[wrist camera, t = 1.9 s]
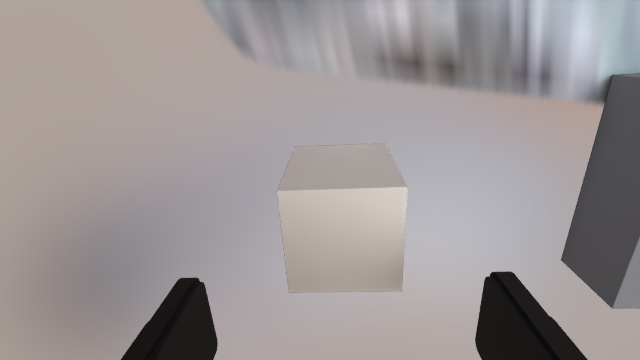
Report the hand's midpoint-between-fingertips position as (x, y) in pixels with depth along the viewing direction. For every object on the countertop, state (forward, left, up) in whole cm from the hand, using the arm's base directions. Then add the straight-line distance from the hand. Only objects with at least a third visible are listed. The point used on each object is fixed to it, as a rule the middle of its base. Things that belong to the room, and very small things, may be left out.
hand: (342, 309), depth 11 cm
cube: (-1, 0, -9) cm, 9 cm away
